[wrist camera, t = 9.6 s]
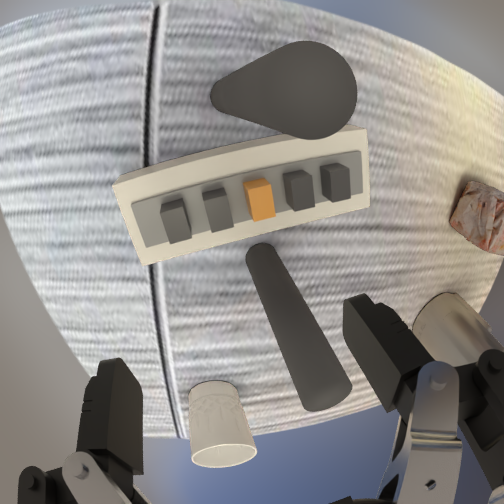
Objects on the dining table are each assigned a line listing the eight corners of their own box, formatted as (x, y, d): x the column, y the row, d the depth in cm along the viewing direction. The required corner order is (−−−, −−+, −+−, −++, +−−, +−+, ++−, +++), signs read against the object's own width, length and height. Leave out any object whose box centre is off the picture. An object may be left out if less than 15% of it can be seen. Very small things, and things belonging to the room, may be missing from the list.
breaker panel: (348, 124, 24) (382, 133, 20) (353, 195, 28) (384, 216, 23) (120, 175, 22) (104, 195, 18) (145, 248, 26) (139, 282, 21)
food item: (439, 228, 33) (493, 268, 24) (459, 170, 29) (520, 200, 21) (485, 239, 36) (528, 271, 28) (502, 193, 33) (549, 220, 24)
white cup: (231, 370, 36) (247, 438, 27) (247, 399, 40) (263, 458, 32) (174, 386, 35) (180, 453, 27) (196, 413, 40) (205, 471, 31)
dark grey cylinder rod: (274, 239, 28) (354, 373, 14) (278, 266, 30) (350, 399, 16) (242, 247, 28) (301, 392, 14) (248, 274, 29) (304, 416, 16)
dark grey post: (244, 74, 20) (349, 40, 7) (251, 109, 22) (362, 133, 8) (206, 81, 20) (250, 45, 6) (214, 117, 22) (269, 148, 8)
